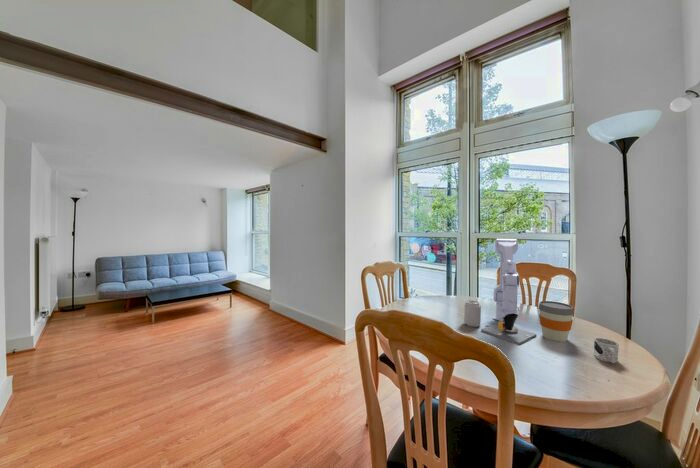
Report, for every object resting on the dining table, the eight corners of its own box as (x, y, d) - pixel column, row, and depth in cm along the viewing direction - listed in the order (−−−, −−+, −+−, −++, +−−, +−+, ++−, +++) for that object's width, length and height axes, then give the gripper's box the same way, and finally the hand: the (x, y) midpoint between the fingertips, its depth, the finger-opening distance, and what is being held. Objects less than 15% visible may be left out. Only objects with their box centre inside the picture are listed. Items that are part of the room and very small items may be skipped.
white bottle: (477, 322, 137) (477, 299, 137) (482, 328, 130) (483, 304, 130) (462, 321, 138) (462, 299, 138) (467, 327, 131) (467, 303, 130)
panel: (498, 324, 135) (498, 321, 135) (536, 336, 121) (536, 333, 121) (481, 331, 126) (481, 328, 126) (519, 345, 112) (519, 342, 112)
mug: (590, 352, 105) (591, 336, 105) (612, 356, 103) (613, 339, 102) (601, 364, 96) (602, 347, 96) (626, 369, 94) (627, 351, 93)
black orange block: (506, 326, 130) (506, 315, 129) (520, 331, 123) (521, 320, 123) (493, 330, 124) (493, 319, 124) (507, 335, 118) (508, 324, 118)
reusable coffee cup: (573, 337, 120) (574, 304, 119) (571, 346, 111) (573, 311, 110) (539, 329, 129) (540, 299, 128) (535, 337, 119) (536, 304, 119)
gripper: (508, 295, 127) (507, 323, 128) (492, 300, 119) (492, 329, 119) (524, 298, 121) (523, 327, 122) (509, 304, 113) (508, 335, 113)
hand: (509, 329), depth 120 cm, fingers closed, pressing on black orange block
